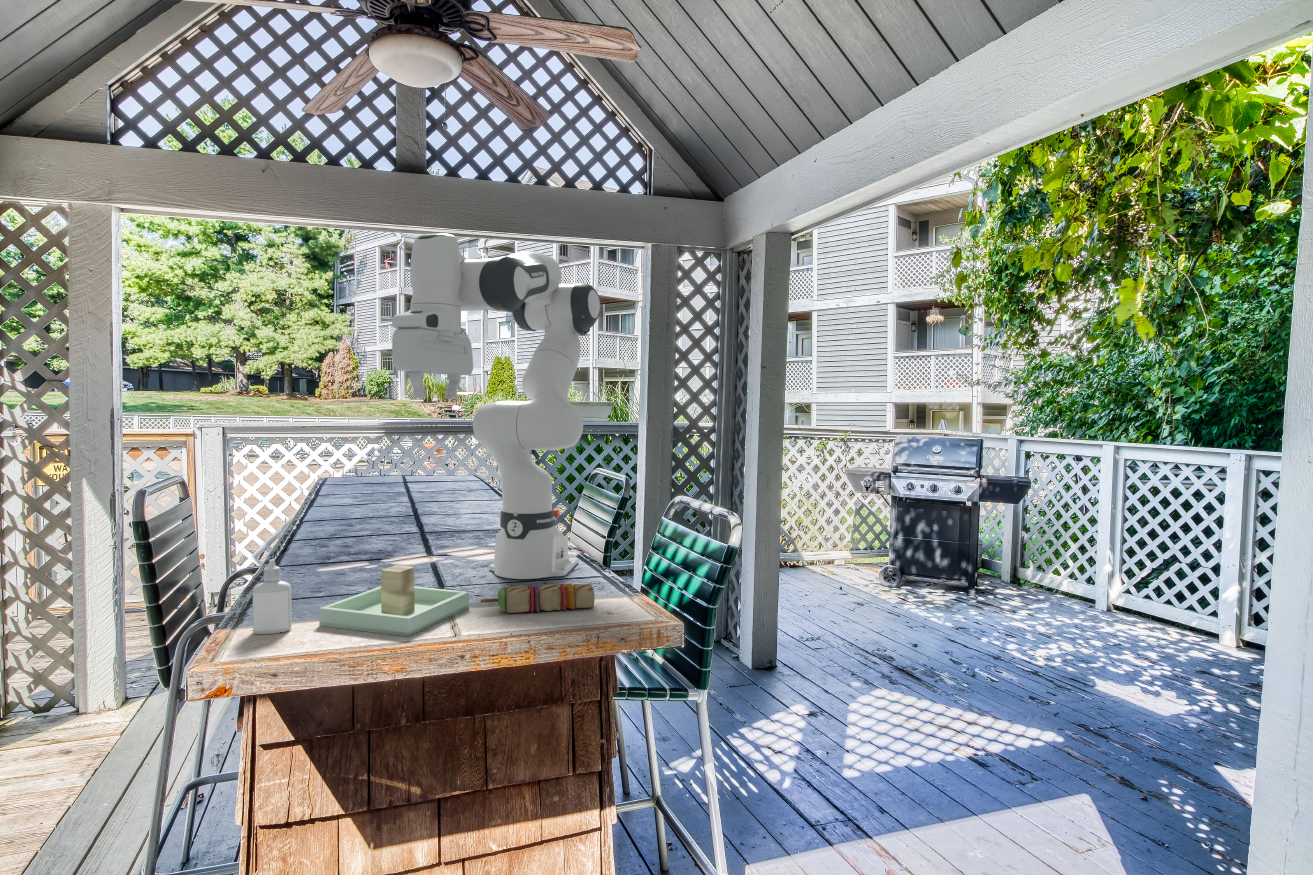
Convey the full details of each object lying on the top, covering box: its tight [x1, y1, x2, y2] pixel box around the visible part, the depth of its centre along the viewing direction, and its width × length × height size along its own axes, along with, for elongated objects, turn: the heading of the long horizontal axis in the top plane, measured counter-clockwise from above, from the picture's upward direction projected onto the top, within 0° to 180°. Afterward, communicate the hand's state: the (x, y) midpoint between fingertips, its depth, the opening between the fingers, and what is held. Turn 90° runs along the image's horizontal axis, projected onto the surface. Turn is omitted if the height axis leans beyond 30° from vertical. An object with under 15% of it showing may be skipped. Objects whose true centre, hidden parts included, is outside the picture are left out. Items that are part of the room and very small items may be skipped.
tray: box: [318, 585, 470, 638], centre depth 129 cm, size 18×18×3 cm
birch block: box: [380, 565, 415, 616], centre depth 129 cm, size 4×4×8 cm
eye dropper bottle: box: [252, 559, 293, 635], centre depth 120 cm, size 4×6×12 cm
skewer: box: [480, 583, 596, 614], centre depth 135 cm, size 21×6×5 cm, turn 103°
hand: (435, 398), depth 132 cm, fingers open, 8 cm apart
